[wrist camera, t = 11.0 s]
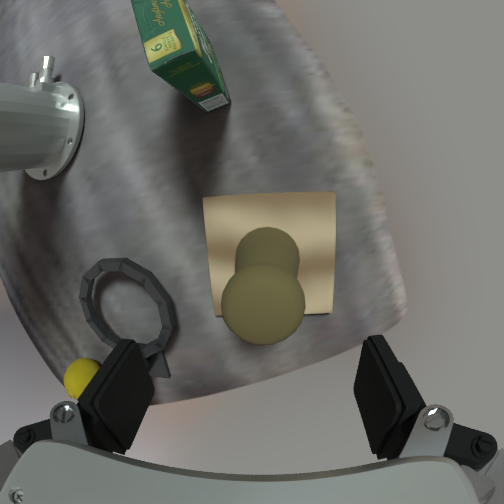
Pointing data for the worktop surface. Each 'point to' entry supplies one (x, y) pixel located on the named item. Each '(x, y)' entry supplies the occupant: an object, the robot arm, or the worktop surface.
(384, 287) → the worktop surface
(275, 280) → the pepper shaker
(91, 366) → the lemon
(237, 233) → the cork mat
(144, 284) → the ring stand
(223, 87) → the coffee box
